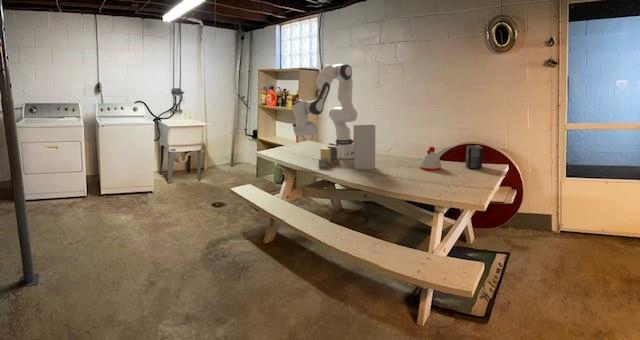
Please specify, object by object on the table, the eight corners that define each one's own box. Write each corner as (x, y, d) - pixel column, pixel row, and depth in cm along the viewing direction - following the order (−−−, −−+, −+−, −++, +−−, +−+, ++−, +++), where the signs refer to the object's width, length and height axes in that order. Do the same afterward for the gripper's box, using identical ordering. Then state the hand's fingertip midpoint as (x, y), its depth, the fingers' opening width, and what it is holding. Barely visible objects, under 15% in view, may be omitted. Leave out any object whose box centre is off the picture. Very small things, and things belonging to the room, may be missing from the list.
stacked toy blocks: (327, 162, 311) (326, 145, 308) (339, 163, 307) (339, 146, 304) (315, 168, 293) (314, 150, 290) (328, 169, 289) (328, 151, 286)
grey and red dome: (444, 168, 285) (445, 146, 282) (433, 171, 276) (434, 149, 273) (427, 165, 295) (428, 144, 292) (415, 168, 286) (416, 147, 283)
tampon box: (482, 169, 279) (483, 147, 276) (467, 169, 281) (468, 147, 278) (479, 165, 290) (480, 145, 287) (465, 165, 292) (466, 144, 288)
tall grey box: (373, 167, 293) (374, 124, 287) (375, 169, 288) (375, 125, 281) (353, 167, 293) (353, 125, 286) (354, 169, 288) (354, 126, 281)
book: (323, 164, 303) (322, 147, 300) (330, 164, 301) (330, 148, 298) (320, 165, 299) (320, 148, 297) (328, 165, 297) (328, 149, 294)
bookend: (320, 166, 295) (320, 158, 293) (328, 167, 292) (328, 158, 291) (318, 167, 292) (318, 159, 291) (326, 168, 290) (326, 159, 288)
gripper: (316, 119, 295) (322, 137, 299) (295, 122, 308) (301, 139, 313) (311, 122, 290) (316, 141, 295) (290, 125, 304) (296, 142, 308)
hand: (308, 140), depth 304 cm, fingers open, 6 cm apart
